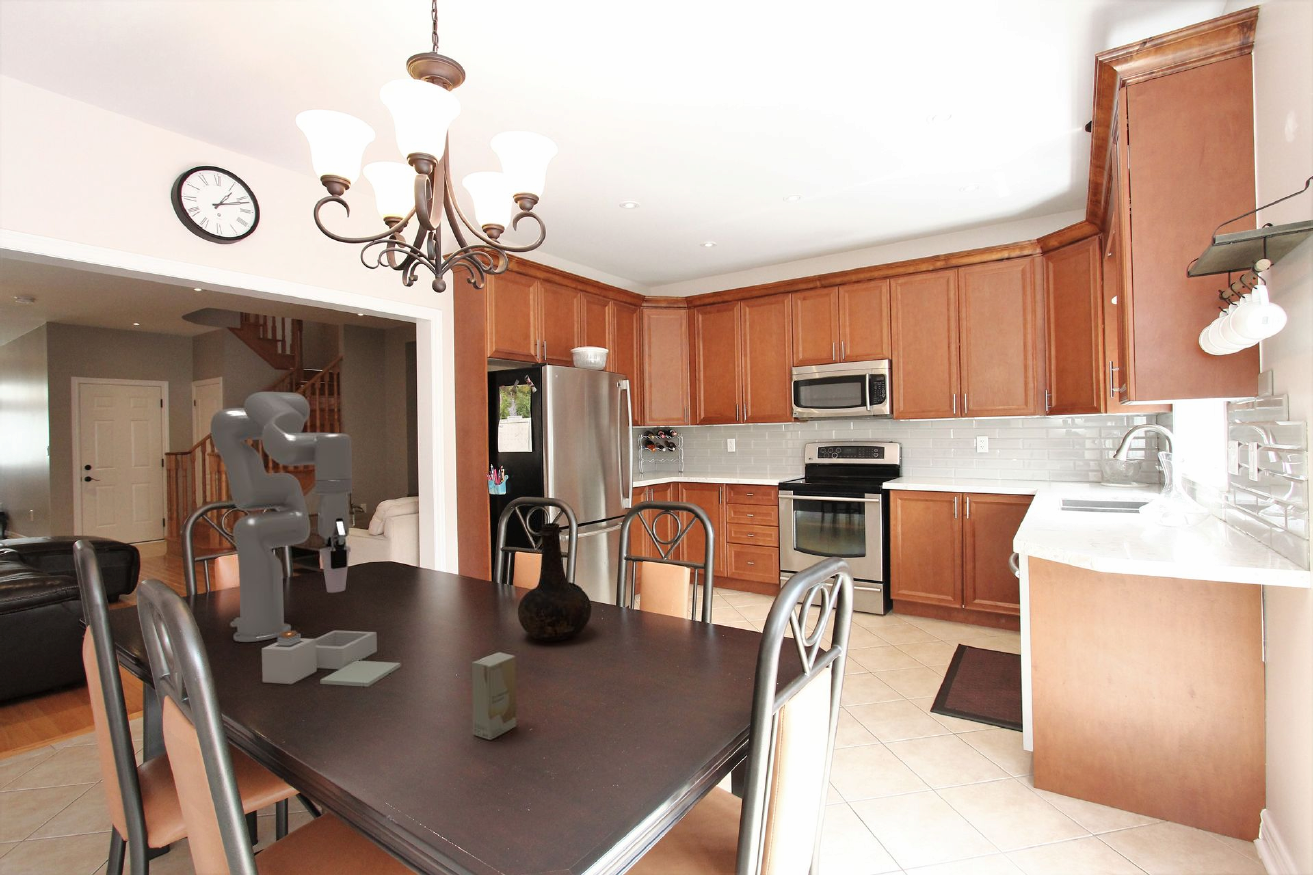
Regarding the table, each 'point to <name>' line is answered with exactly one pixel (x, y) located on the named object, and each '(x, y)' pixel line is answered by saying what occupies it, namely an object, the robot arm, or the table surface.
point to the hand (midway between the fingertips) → (335, 564)
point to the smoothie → (333, 571)
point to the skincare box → (494, 695)
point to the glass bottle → (553, 596)
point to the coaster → (360, 673)
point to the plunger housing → (289, 662)
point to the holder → (344, 648)
